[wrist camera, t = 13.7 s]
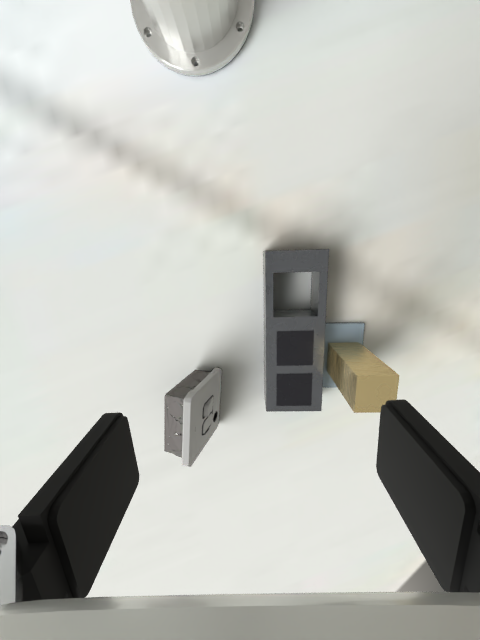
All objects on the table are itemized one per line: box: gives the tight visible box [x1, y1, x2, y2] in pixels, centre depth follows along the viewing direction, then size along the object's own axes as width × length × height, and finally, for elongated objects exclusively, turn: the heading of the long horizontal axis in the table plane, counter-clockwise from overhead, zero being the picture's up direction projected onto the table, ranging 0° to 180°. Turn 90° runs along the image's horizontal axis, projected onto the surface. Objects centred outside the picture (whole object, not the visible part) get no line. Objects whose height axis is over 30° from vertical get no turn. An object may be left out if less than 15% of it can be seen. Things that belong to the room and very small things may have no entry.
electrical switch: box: [164, 368, 222, 467], centre depth 35 cm, size 9×5×9 cm, turn 176°
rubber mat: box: [322, 323, 365, 387], centre depth 37 cm, size 9×5×1 cm, turn 2°
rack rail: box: [263, 249, 329, 411], centre depth 34 cm, size 20×7×4 cm, turn 2°
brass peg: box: [327, 342, 399, 413], centre depth 32 cm, size 4×4×10 cm
